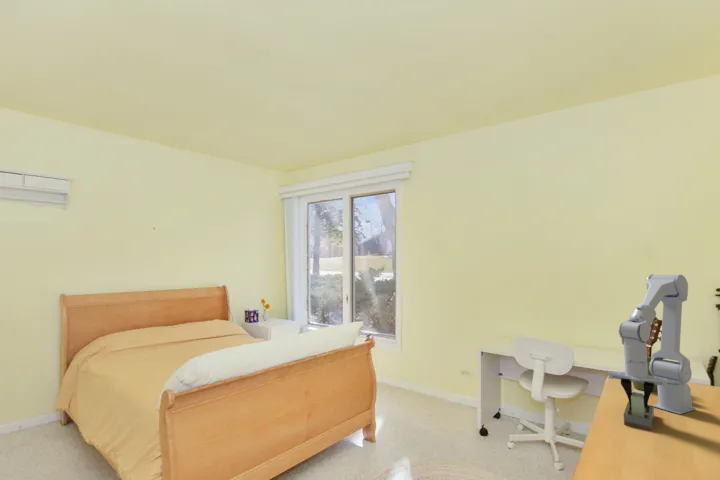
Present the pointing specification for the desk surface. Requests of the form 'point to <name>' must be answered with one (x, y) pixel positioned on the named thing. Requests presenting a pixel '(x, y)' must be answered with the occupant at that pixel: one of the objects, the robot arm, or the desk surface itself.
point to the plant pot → (640, 385)
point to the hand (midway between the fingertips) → (638, 406)
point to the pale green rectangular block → (638, 403)
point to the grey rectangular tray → (639, 418)
